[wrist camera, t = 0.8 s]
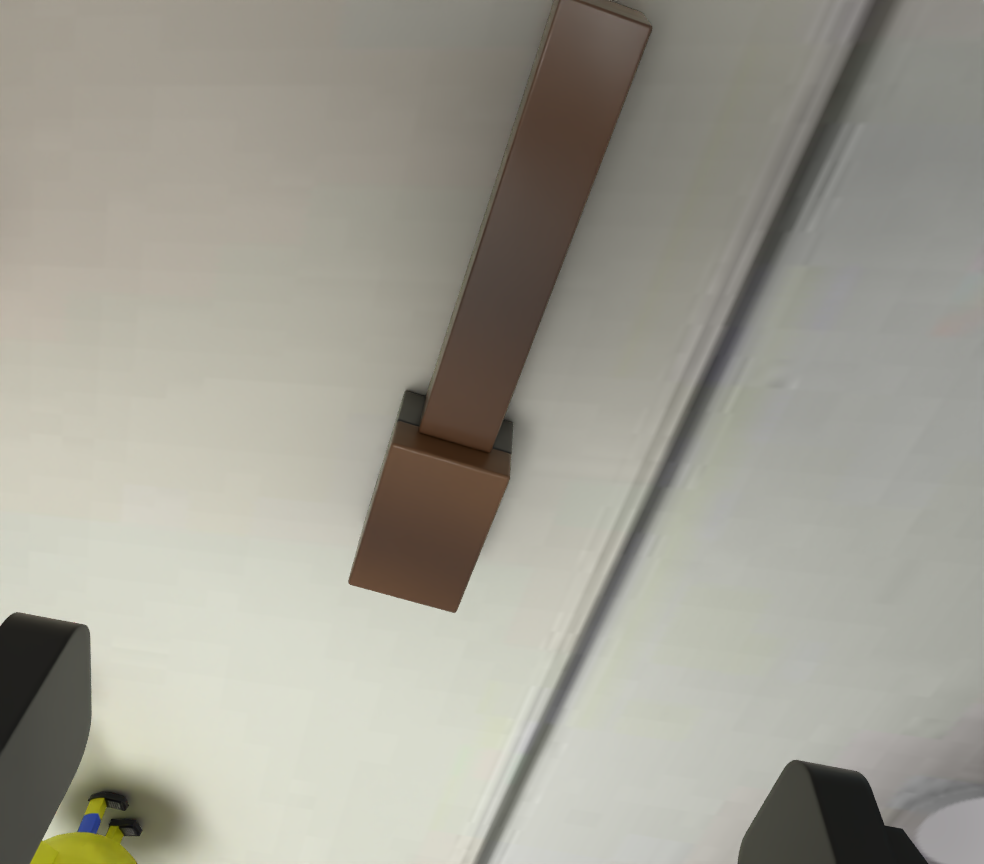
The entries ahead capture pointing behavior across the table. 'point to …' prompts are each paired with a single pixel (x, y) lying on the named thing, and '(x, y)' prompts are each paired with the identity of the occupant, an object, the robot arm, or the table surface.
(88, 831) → the toy figure
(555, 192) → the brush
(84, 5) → the table surface
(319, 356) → the table surface
